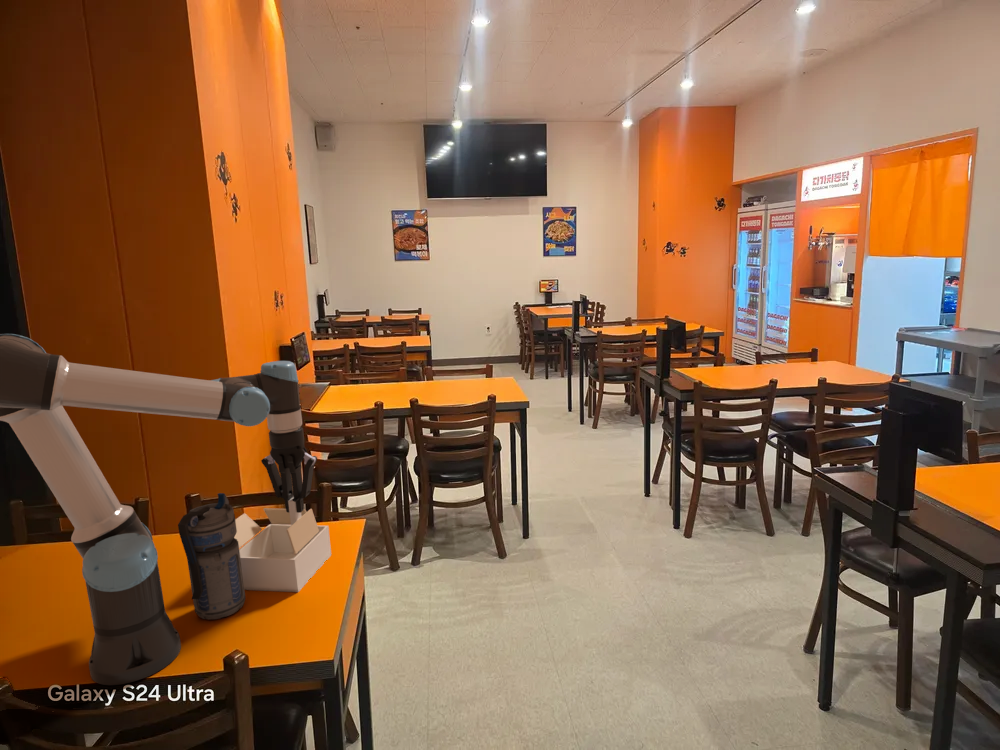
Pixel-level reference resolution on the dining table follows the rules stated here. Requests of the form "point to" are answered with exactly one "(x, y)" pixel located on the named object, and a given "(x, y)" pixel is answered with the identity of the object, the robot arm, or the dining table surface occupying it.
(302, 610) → the dining table surface
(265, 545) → the carton
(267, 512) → the flap
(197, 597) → the beverage bottle
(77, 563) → the dining table surface
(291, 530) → the flap
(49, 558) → the dining table surface
